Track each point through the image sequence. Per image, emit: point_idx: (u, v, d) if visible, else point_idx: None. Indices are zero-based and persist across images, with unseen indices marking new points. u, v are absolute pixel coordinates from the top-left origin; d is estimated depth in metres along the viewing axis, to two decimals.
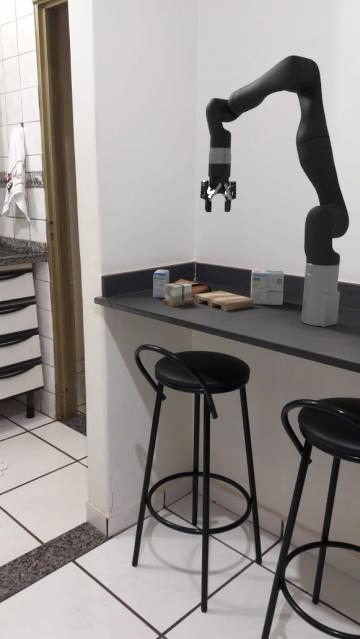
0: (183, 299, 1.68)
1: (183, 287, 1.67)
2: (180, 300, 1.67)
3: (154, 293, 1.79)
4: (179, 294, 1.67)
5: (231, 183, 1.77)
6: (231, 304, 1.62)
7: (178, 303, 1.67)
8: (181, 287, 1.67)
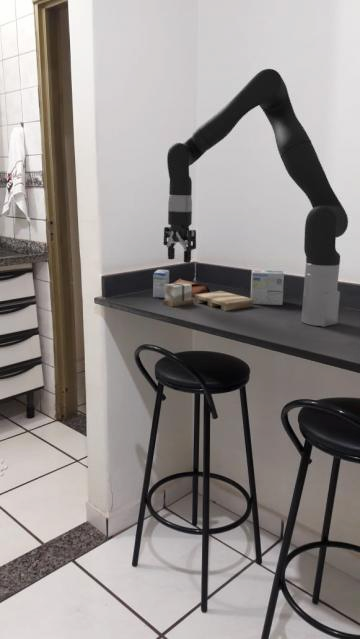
0: (183, 299, 1.68)
1: (183, 287, 1.67)
2: (180, 300, 1.67)
3: (154, 293, 1.79)
4: (179, 294, 1.67)
5: None
6: (231, 304, 1.62)
7: (178, 303, 1.67)
8: (181, 287, 1.67)
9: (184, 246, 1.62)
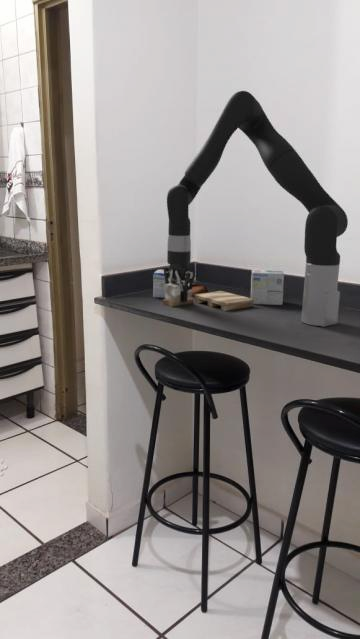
0: None
1: None
2: None
3: (154, 293, 1.79)
4: (179, 294, 1.67)
5: None
6: (231, 304, 1.62)
7: (178, 302, 1.67)
8: None
9: (181, 286, 1.66)
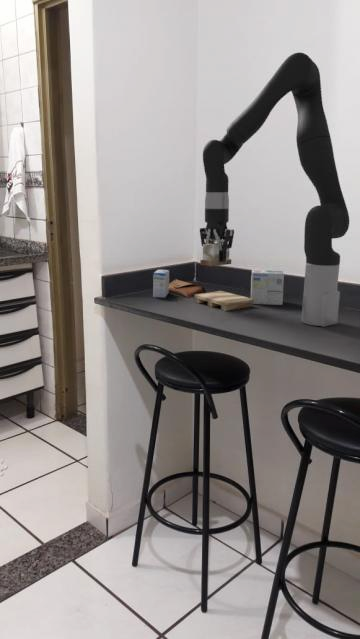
0: None
1: None
2: None
3: (154, 293, 1.79)
4: (218, 253, 1.62)
5: None
6: (231, 304, 1.62)
7: (217, 262, 1.63)
8: None
9: (220, 245, 1.62)
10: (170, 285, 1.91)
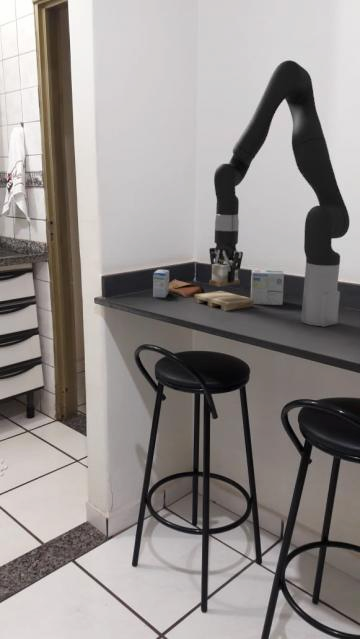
0: None
1: None
2: None
3: (154, 293, 1.79)
4: (226, 274, 1.65)
5: None
6: (231, 304, 1.62)
7: (226, 283, 1.66)
8: None
9: (228, 266, 1.64)
10: (169, 285, 1.91)
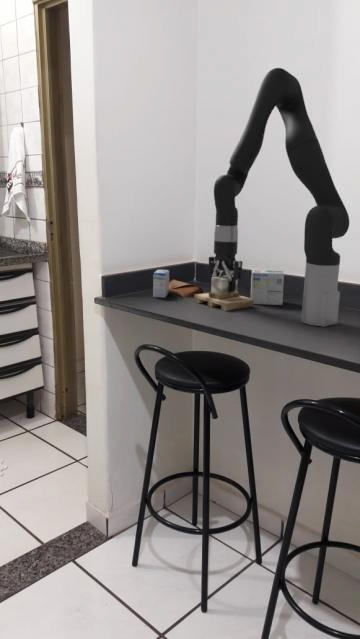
0: (229, 292, 1.68)
1: None
2: (227, 293, 1.67)
3: (154, 293, 1.79)
4: (226, 287, 1.66)
5: None
6: (231, 304, 1.62)
7: (225, 296, 1.67)
8: (228, 280, 1.66)
9: (229, 276, 1.65)
10: None
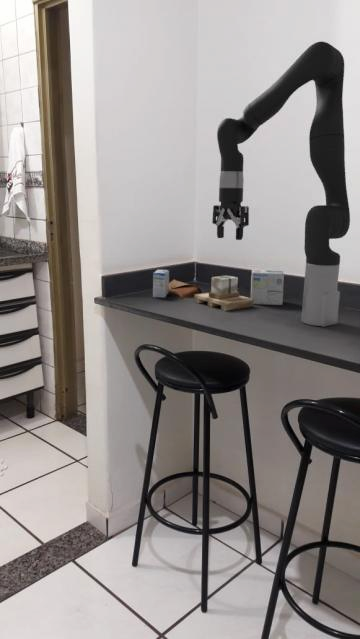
0: (229, 292, 1.68)
1: (230, 280, 1.67)
2: (227, 293, 1.67)
3: (154, 293, 1.79)
4: (226, 287, 1.66)
5: None
6: (231, 304, 1.62)
7: (225, 296, 1.67)
8: (228, 280, 1.66)
9: (236, 223, 1.60)
10: None
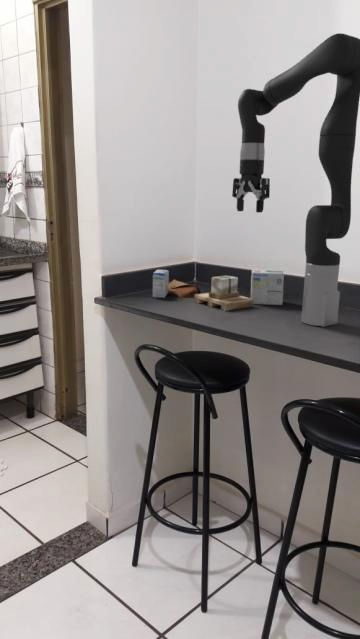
0: (229, 292, 1.68)
1: (230, 280, 1.67)
2: (227, 293, 1.67)
3: (154, 293, 1.79)
4: (226, 287, 1.66)
5: None
6: (231, 304, 1.62)
7: (225, 296, 1.67)
8: (228, 280, 1.66)
9: (257, 195, 1.60)
10: None
